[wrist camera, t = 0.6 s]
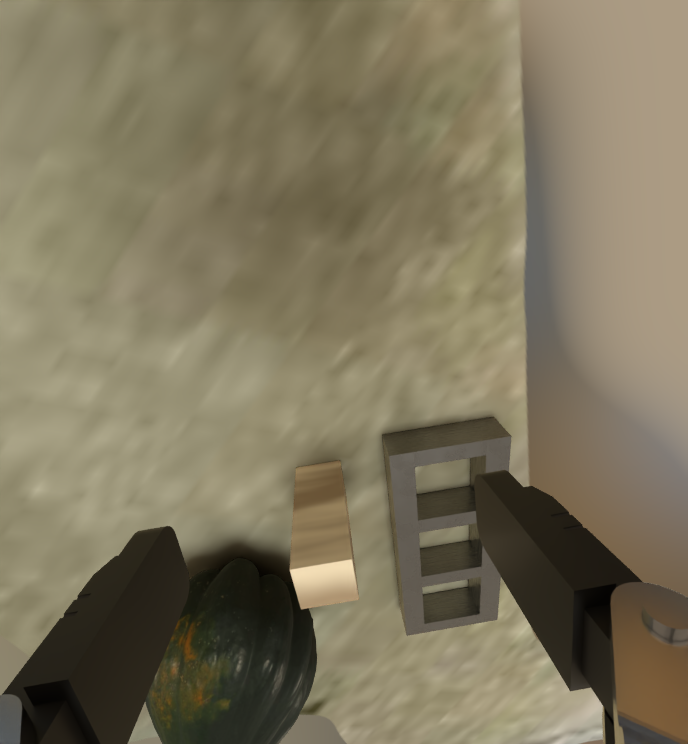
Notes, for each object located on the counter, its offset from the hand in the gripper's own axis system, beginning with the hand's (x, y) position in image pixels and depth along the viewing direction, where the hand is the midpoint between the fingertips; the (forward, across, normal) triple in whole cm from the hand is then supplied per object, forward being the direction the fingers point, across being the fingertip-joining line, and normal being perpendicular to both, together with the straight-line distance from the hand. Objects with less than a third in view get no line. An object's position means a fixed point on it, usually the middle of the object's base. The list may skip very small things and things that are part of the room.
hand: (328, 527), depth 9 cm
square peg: (+21, +2, +12) cm, 24 cm away
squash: (+23, +12, +24) cm, 35 cm away
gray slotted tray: (+22, -9, +20) cm, 31 cm away
